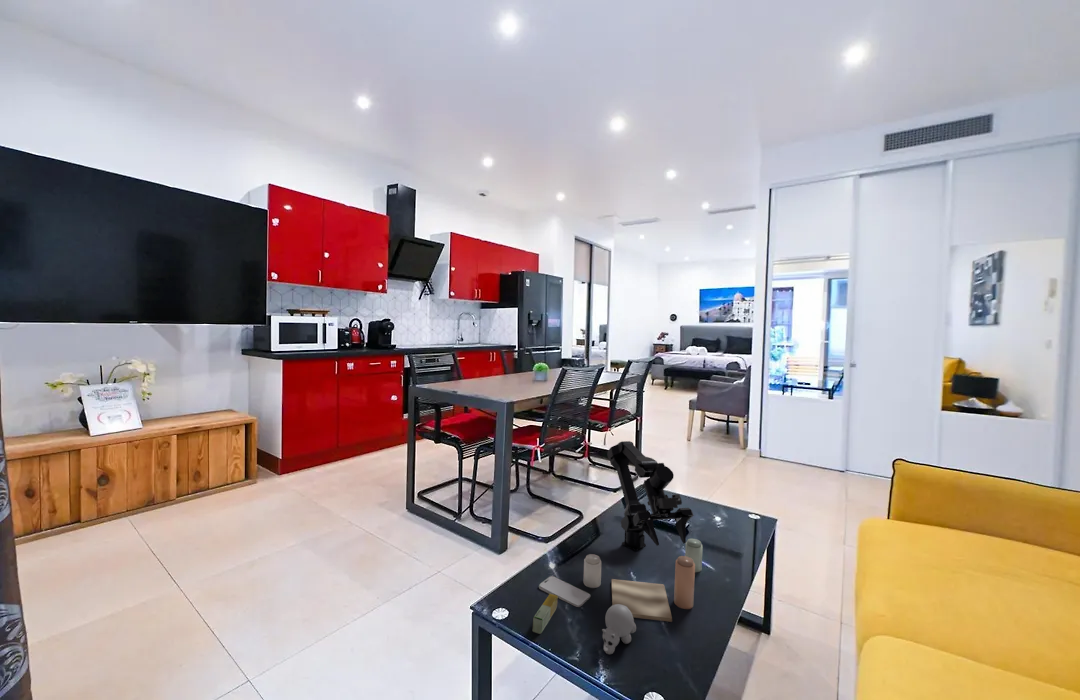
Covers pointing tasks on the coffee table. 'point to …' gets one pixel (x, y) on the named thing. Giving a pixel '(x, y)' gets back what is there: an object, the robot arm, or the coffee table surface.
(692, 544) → the sage jar
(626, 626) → the chubby cartoon animal
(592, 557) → the cream jar
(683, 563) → the terracotta jar
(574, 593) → the smartphone
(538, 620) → the medication box
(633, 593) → the beige cloth
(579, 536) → the coffee table surface
